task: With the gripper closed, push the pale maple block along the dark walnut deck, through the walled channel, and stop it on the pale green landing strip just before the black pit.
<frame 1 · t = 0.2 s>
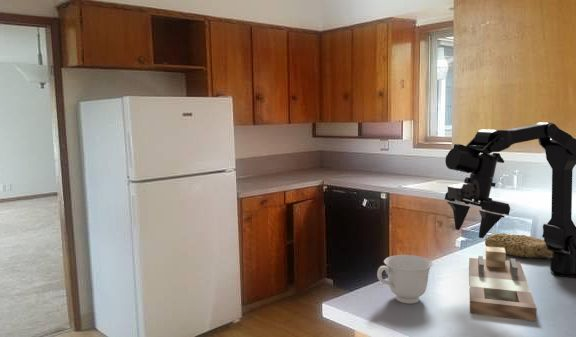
hand: (468, 233, 125), 15 cm above the countertop, tool pointing down, fingers open, 9 cm apart
maple block: (495, 264, 137), point 3 cm above the countertop, touching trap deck
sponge: (520, 256, 156), on the countertop
teacup: (402, 300, 120), on the countertop
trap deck: (497, 290, 126), on the countertop
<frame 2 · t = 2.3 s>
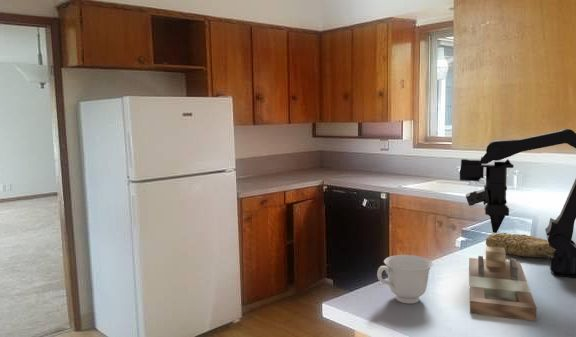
hand: (494, 232, 144), 11 cm above the countertop, tool pointing down, fingers closed
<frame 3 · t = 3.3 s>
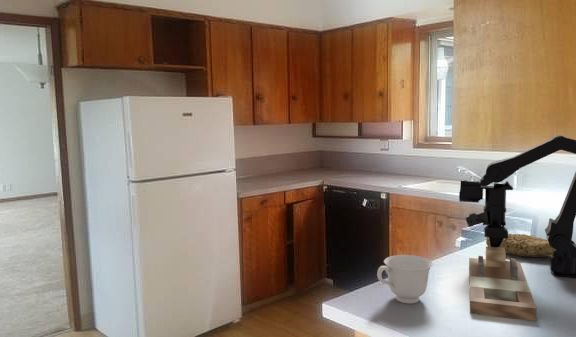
hand: (493, 253, 144), 4 cm above the countertop, tool pointing down, fingers closed
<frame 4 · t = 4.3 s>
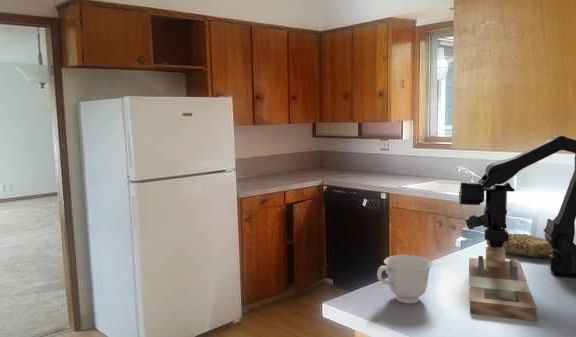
hand: (494, 256, 141), 4 cm above the countertop, tool pointing down, fingers closed
maple block: (495, 264, 137), point 3 cm above the countertop, touching gripper
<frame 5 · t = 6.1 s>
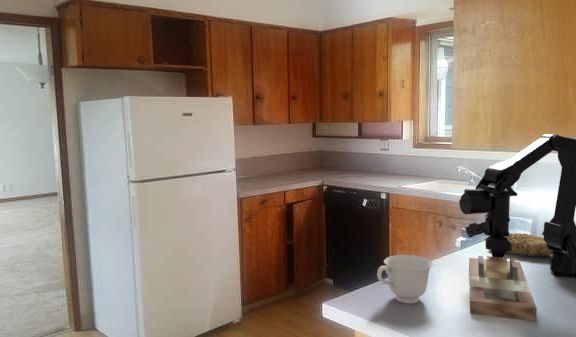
hand: (495, 266, 132), 4 cm above the countertop, tool pointing down, fingers closed
maple block: (496, 275, 128), point 3 cm above the countertop, touching gripper
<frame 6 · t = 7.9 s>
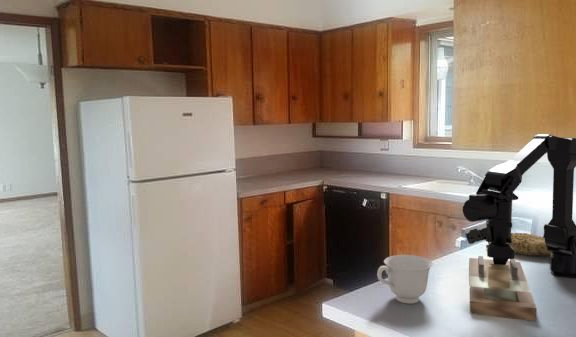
hand: (497, 274, 126), 4 cm above the countertop, tool pointing down, fingers closed
maple block: (498, 284, 122), point 3 cm above the countertop, touching gripper, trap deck
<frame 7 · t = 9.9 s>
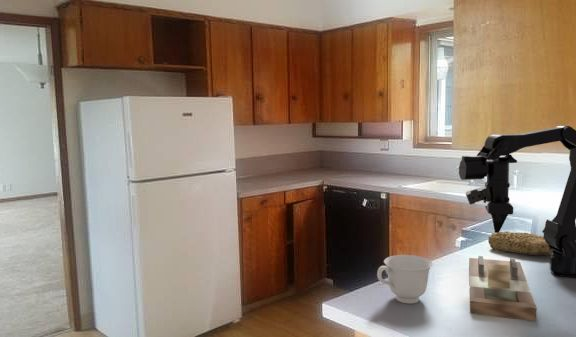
hand: (496, 232, 136), 13 cm above the countertop, tool pointing down, fingers closed
maple block: (498, 284, 122), point 3 cm above the countertop, touching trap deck
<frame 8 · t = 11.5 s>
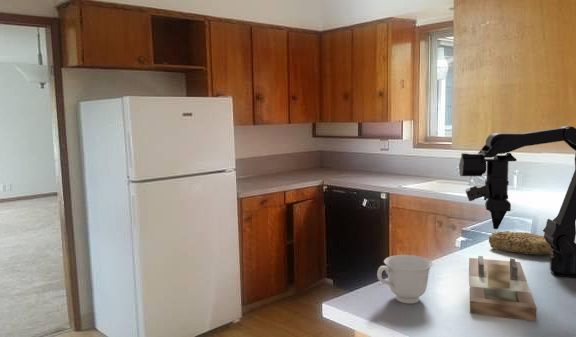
hand: (495, 228, 138), 13 cm above the countertop, tool pointing down, fingers closed
at the end: maple block 0.4 cm from the target spot, point 3.0 cm above the countertop; maple block tilted 0°; maple block moved 16.8 cm from its start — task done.
